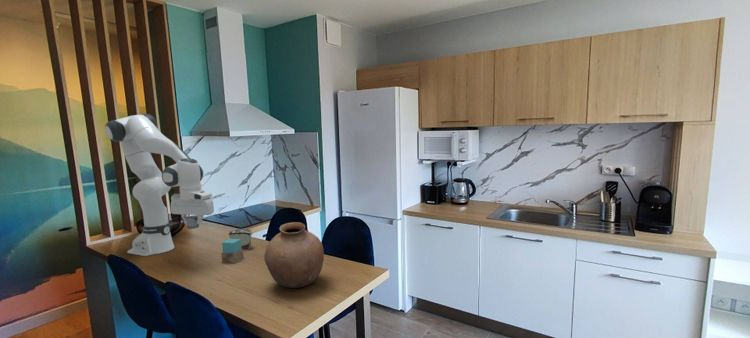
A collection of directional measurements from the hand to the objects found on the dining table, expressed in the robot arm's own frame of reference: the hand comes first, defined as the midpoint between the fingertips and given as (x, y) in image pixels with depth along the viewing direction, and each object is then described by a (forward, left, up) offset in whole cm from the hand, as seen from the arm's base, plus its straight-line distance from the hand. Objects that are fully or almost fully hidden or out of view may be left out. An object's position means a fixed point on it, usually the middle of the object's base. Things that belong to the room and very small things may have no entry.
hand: (193, 223), depth 165 cm
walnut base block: (+13, +9, -21) cm, 26 cm away
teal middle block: (+13, +9, -16) cm, 22 cm away
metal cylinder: (0, 0, -2) cm, 2 cm away
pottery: (+55, -12, -21) cm, 60 cm away
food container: (+8, +26, -21) cm, 34 cm away
